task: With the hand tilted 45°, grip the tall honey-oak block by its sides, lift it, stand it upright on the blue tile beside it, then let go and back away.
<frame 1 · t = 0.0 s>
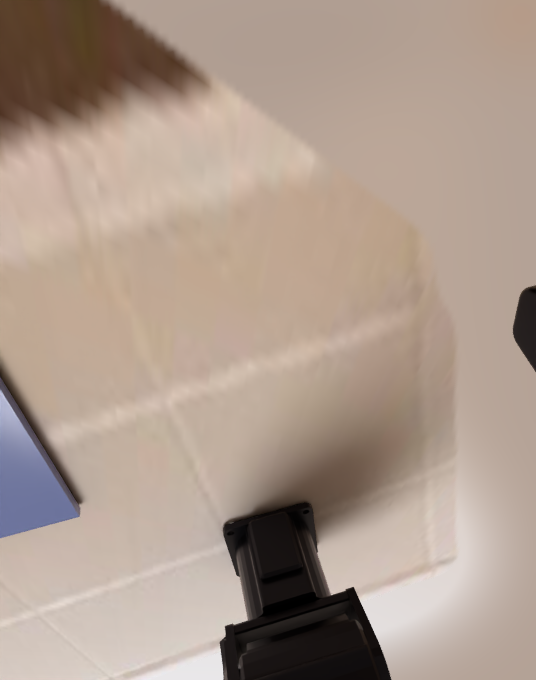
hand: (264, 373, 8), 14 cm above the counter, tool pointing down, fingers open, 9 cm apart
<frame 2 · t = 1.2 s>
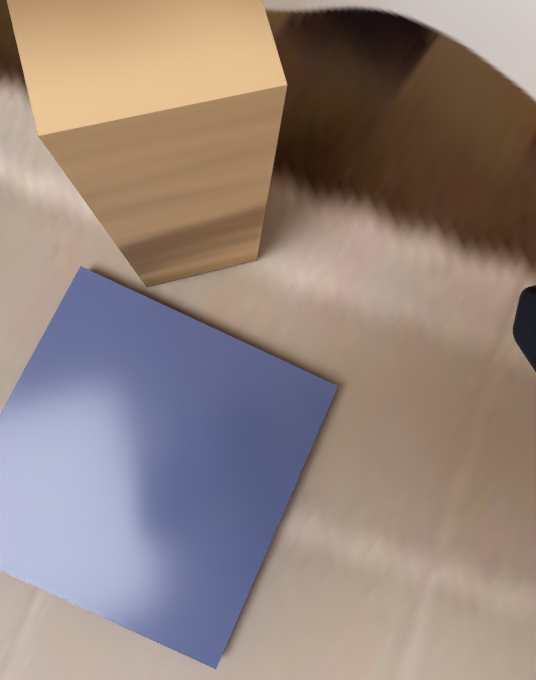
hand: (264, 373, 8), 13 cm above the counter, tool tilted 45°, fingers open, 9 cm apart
blue tile: (147, 457, 20), on the counter
oak block: (188, 220, 22), on the counter
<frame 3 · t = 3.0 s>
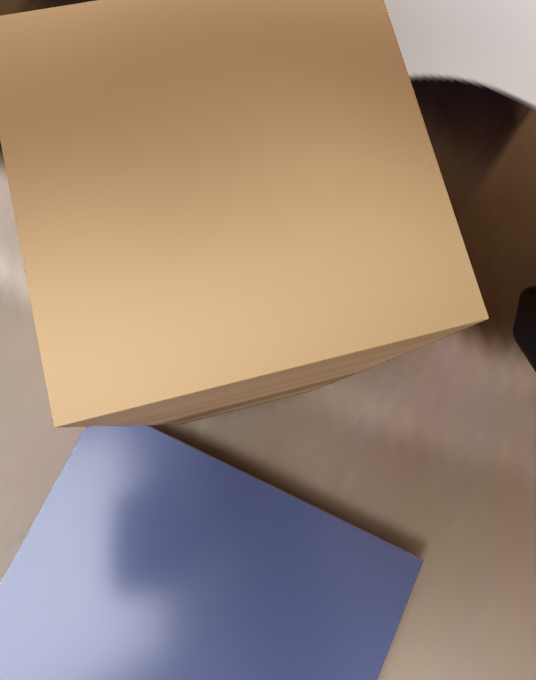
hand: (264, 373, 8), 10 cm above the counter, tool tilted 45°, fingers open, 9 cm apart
blue tile: (178, 652, 16), on the counter
oak block: (232, 338, 18), on the counter
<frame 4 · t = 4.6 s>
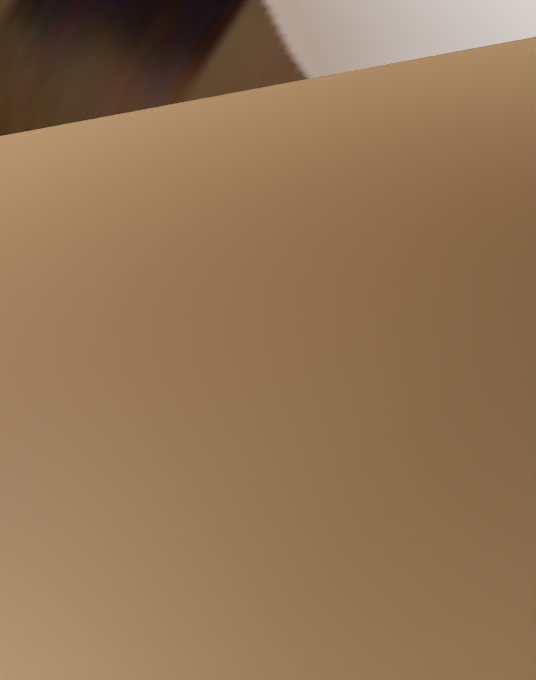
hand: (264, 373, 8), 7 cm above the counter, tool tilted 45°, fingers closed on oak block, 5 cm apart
oak block: (262, 441, 14), on the counter, touching gripper
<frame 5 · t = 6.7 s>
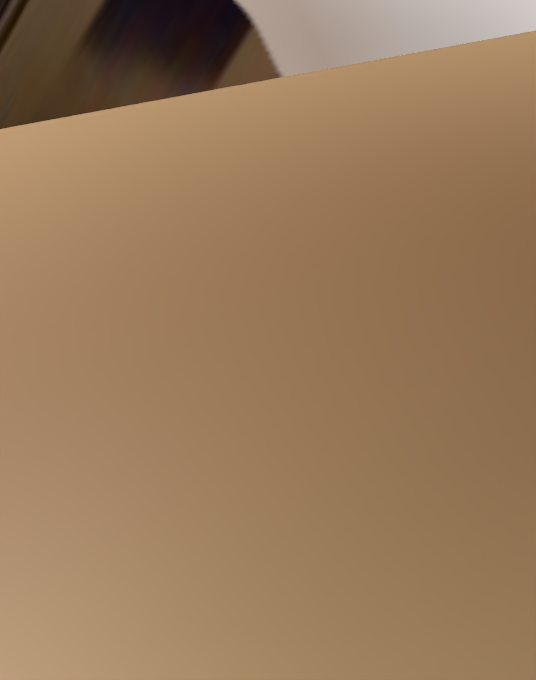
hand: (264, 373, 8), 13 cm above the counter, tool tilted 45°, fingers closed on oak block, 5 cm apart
oak block: (261, 439, 14), point 6 cm above the counter, touching gripper
when the fingers open (8 cm above the counter, at t = 8.8 s): oak block drops 1 cm, resting on blue tile.
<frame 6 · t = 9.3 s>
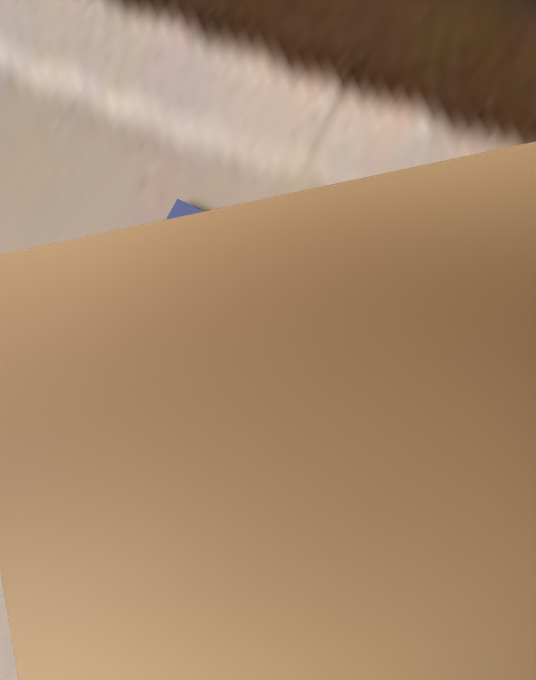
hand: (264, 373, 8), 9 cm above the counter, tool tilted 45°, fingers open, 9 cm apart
blue tile: (258, 437, 16), on the counter
oak block: (260, 438, 15), point 1 cm above the counter, touching blue tile
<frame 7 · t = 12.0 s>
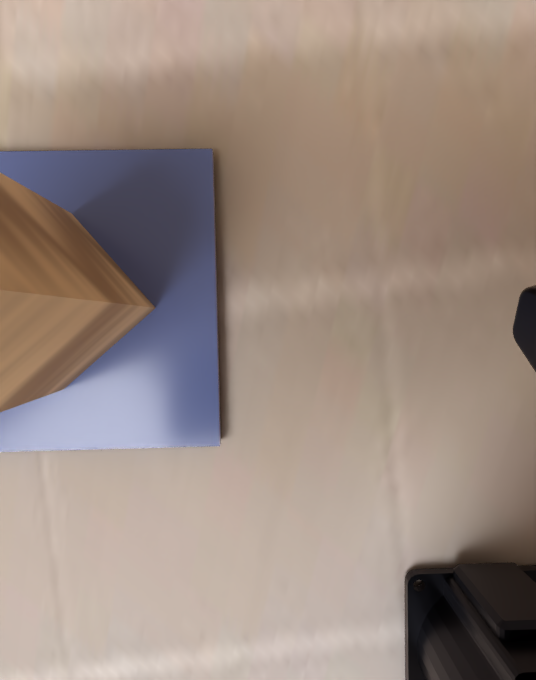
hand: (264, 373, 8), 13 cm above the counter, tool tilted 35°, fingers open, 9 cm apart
blue tile: (72, 302, 20), on the counter
oak block: (67, 302, 20), point 1 cm above the counter, touching blue tile
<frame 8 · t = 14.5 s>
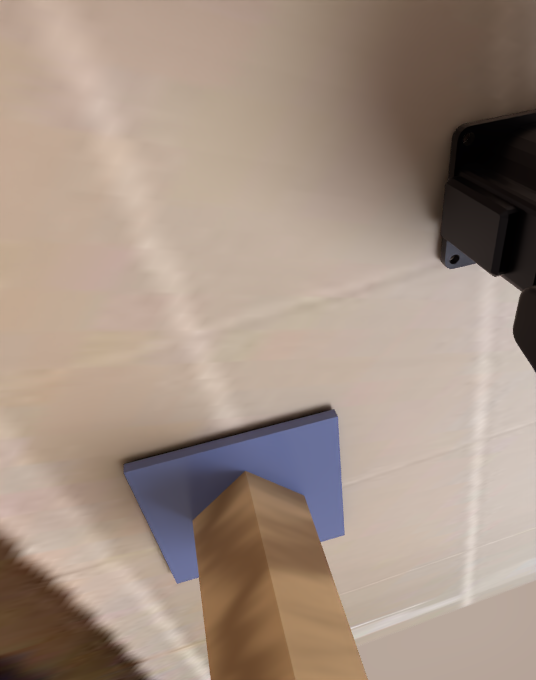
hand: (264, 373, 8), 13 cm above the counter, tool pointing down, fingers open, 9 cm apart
blue tile: (247, 500, 31), on the counter
oak block: (249, 507, 30), point 1 cm above the counter, touching blue tile
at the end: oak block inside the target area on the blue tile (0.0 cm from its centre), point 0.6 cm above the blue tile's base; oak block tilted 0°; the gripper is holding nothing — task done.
